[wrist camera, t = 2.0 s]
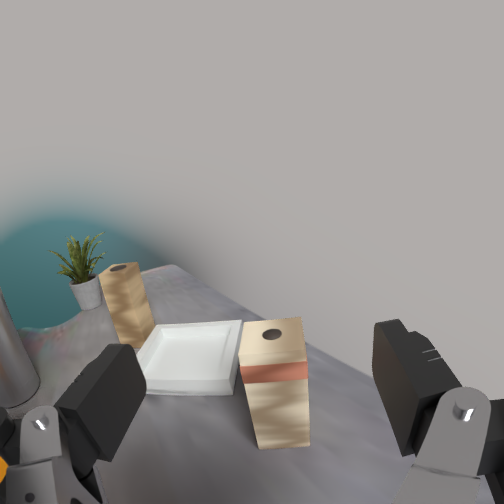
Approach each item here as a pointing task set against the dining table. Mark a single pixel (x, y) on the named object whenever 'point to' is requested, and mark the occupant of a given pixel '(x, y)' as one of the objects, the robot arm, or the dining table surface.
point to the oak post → (127, 303)
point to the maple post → (276, 381)
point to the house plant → (82, 275)
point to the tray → (192, 358)
